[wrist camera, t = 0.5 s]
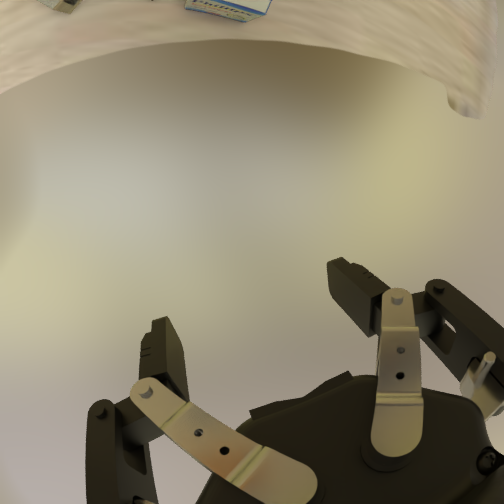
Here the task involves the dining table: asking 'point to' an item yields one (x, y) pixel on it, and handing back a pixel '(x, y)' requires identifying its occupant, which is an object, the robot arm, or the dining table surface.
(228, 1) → the medicine box
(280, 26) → the dining table surface
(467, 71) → the dining table surface
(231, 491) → the robot arm
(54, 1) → the steel housing
